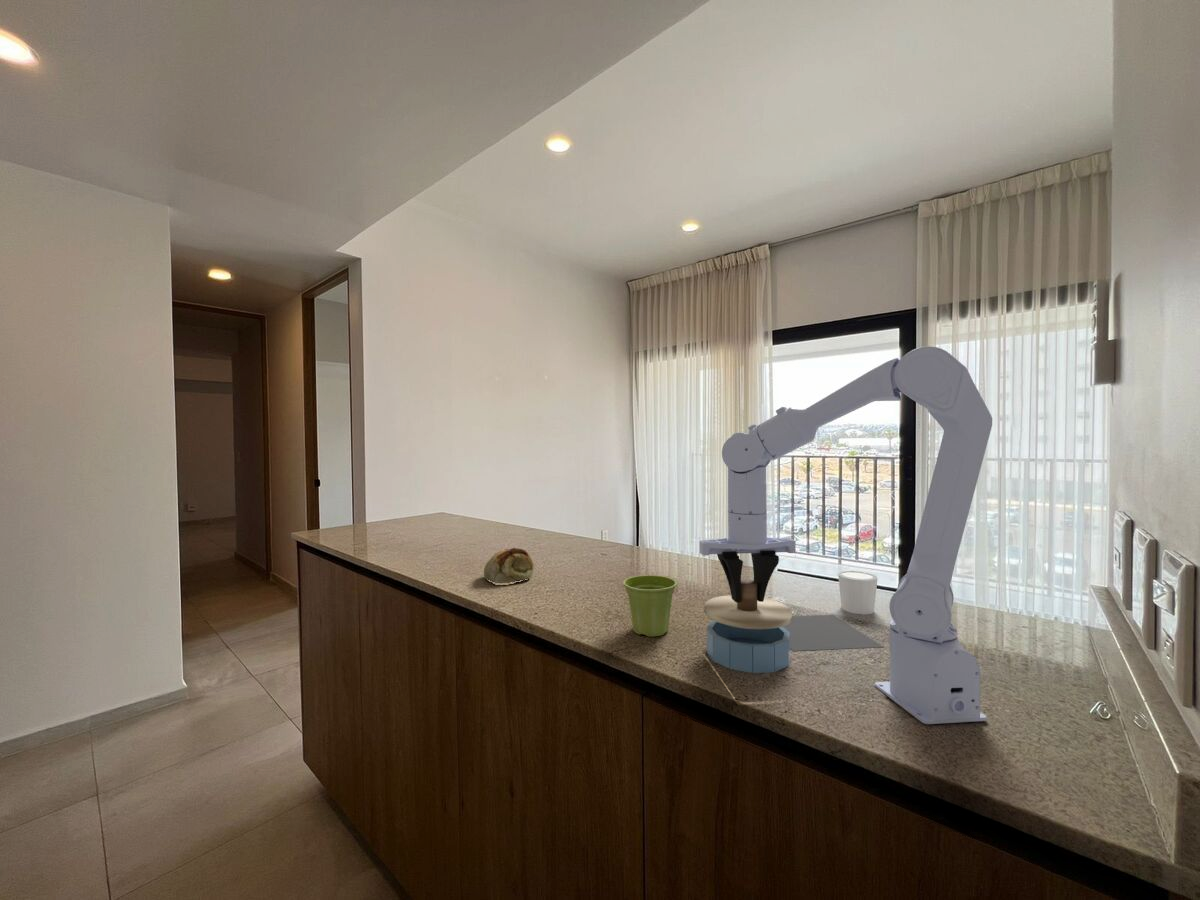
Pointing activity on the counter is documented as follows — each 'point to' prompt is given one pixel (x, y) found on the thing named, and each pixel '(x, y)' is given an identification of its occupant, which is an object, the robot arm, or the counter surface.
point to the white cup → (857, 592)
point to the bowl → (748, 648)
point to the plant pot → (650, 603)
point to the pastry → (509, 566)
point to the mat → (825, 634)
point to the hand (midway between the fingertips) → (747, 600)
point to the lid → (748, 610)
